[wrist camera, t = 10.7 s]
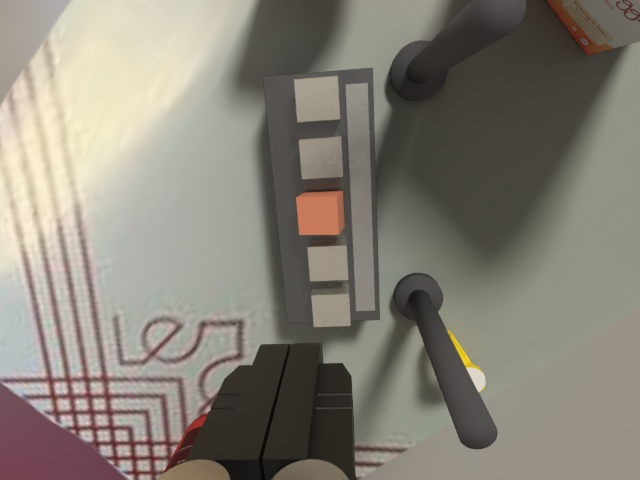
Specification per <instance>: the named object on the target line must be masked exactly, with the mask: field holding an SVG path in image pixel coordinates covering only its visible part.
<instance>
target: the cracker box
mask: <svg viewBox="0 0 640 480" xmlns="http://www.w3.org/2000/svg"><path fill="white" fill-rule="evenodd" d="M546 1H547V2H548V4H549V5H550V6H551V8H552V9H553V10H554V12H555V13H556V14H557V16H558V17H559V18H560V20H561V21H562V22H563V24H564V25H565V27H566V28H567V29H568V30H569V32H570V33H571V35H572V36H573V37H574V38H575V40H576V41H577V42H578V44H579V45H580V47H581V48H582V49H583V50H584V52H585V53H586V54H587V55H591V54H595V53H599V52H602V51H607V50H610V49H614V48H618V47H621V46H625V45H628V44H631V43H635V42H639V41H640V0H546Z"/></svg>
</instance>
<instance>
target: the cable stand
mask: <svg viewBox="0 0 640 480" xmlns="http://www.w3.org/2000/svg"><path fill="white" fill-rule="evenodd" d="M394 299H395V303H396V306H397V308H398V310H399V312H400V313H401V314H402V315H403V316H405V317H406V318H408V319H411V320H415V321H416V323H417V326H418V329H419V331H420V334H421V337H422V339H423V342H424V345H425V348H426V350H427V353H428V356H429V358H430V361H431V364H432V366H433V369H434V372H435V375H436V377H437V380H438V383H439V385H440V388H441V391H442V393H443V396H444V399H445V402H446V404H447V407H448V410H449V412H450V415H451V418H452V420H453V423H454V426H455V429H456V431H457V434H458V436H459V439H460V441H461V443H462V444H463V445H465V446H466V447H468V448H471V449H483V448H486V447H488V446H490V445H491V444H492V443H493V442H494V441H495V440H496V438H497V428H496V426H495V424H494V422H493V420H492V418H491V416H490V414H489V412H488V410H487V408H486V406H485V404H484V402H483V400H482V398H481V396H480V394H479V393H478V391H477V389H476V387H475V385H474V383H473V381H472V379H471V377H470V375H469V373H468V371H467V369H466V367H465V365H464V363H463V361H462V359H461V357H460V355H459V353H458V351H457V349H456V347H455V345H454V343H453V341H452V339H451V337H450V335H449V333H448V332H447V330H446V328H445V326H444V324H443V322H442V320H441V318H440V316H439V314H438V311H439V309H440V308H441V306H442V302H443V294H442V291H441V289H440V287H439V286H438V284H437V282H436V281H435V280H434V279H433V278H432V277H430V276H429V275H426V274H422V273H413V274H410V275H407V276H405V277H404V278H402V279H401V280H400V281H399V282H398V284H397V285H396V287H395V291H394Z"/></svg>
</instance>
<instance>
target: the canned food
mask: <svg viewBox="0 0 640 480" xmlns="http://www.w3.org/2000/svg"><path fill="white" fill-rule="evenodd" d="M206 417H207V414H205V415H202V416H200V417H199V418H197V419H196V420H195V421H194V422H193V423H192V424H191V425H190V426H189V427H188V428H187V430H186V432H185V434H184V436H183V437H182V439H181V441H180V443H179V445H178V447H177V449H176V451H175V452H174V454H173V456H172V458H171V460H170V462H169V464H168V466H167V467H166V469H165V471H164V473H165V472H167V471H168V470H169V469H171V468H173V467H175V466H177V465H179V464H182V463H184V462H185V460H186V458H187V456H188V454H189V452H190V450H191V447H192V445H193V443H194V441H195V439H196V437H197V435H198V433H199V431H200V429H201V427H202V425H203V423H204V421H205V419H206ZM164 473H163V474H164Z"/></svg>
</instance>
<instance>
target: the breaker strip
mask: <svg viewBox="0 0 640 480" xmlns="http://www.w3.org/2000/svg"><path fill="white" fill-rule="evenodd" d="M263 83H264V93H265V103H266V113H267V123H268V133H269V143H270V153H271V163H272V173H273V183H274V193H275V203H276V213H277V223H278V233H279V243H280V253H281V263H282V273H283V283H284V293H285V303H286V313H287V323H303V322H313V324H314V327H335V326H351V321H365V320H380V306H379V271H378V236H377V201H376V166H375V131H374V97H373V68H363V69H351V70H339V71H327V72H315V73H303V74H290V75H278V76H266V77H263ZM325 191H343V202H344V222H345V227H344V228H343V230H342V231H341V233H340V234H339V235H299V226H298V214H297V202H296V197H298V196H300V195H301V194H303V193H304V192H325Z"/></svg>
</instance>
